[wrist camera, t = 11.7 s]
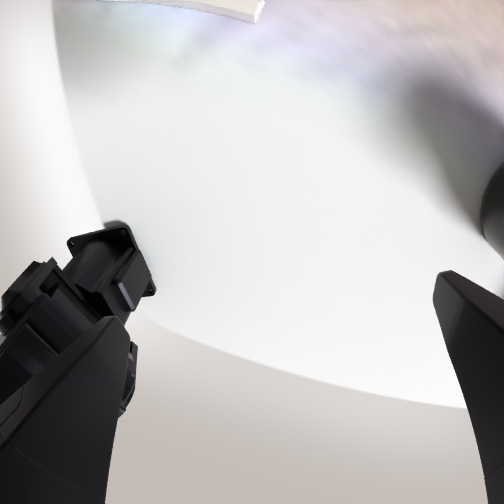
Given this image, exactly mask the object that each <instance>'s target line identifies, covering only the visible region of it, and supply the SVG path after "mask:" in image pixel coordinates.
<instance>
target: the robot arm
mask: <svg viewBox="0 0 504 504" xmlns="http://www.w3.org/2000/svg"><path fill="white" fill-rule="evenodd" d="M122 230H124V231H125V232H126V233H123V231H122ZM71 242H72V243H73V244H72V243H71ZM67 246H68V248H69V250H70V252H71V254H72V256H73V258H72V259H71V261H70V262H69V263H68V264H67V265H66V267H65V268H64V269H63V270H61V269H60V268H59V266H58V265H57V262H56V261H55V259H54V258H53V257H52V258H51V259H50V260H49V261H48V262H47V263H45V262H43V263H39V262H36V261H33V262H32V263H31V264H30V266H28V268H27V269H26V270H25V271H24V272H23V273H22V274H21V275H20V277H18V278H17V279H16V281H15V282H14V283H13V284H12V285H11V286H10V287H9V288H8V290H7V291H6V292H5V293H4V294H3V295H2V311H1V312H0V332H1V335H0V504H105V498H106V490H107V482H108V475H109V467H110V461H111V454H112V448H113V442H114V437H115V431H116V426H117V421H118V418H119V417H120V416H121V415H122V414H123V413H124V412H125V411H126V407H127V405H128V404H129V402H130V400H131V398H132V396H133V393H134V390H135V380H136V364H137V350H138V346H137V345H136V344H135V343H134V342H132V341H130V336H129V334H128V332H127V331H126V330H125V327H124V325H125V323H126V321H127V319H128V317H129V315H130V313H131V312H132V311H135V309H136V307H137V305H138V303H139V301H140V299H141V297H148V296H153V295H154V294H155V292H156V287H155V285H154V283H153V280H152V278H151V277H152V276H151V273H150V271H149V269H148V267H147V264H146V262H145V260H144V257H143V255H142V253H141V251H140V250H139V248H138V246H137V244H136V241H135V239H134V236H133V234H132V231H131V229H130V227H129V226H127V225H120V226H115V227H111V228H107V229H103V230H99V231H95V232H90V233H87V234H83V235H79V236H75V237H71V238H70V239H69V240H68V241H67ZM149 289H150V290H152V291H150V290H149ZM433 304H434V308H435V311H436V314H437V317H438V320H439V324H440V327H441V330H442V334H443V337H444V341H445V344H446V347H447V351H448V353H449V356H450V359H451V362H452V364H453V367H454V370H455V373H456V375H457V378H458V381H459V384H460V387H461V390H462V393H463V396H464V399H465V402H466V405H467V409H468V412H469V415H470V419H471V422H472V426H473V429H474V433H475V437H476V441H477V445H478V450H479V454H480V459H481V463H482V467H483V473H484V476H485V477H484V479H485V485H486V491H487V498H488V504H504V300H503V299H501V298H500V297H498V296H496V295H495V294H493V293H491V292H490V291H488V290H486V289H484V288H483V287H481V286H479V285H477V284H476V283H474V282H472V281H470V280H469V279H467V278H465V277H463V276H461V275H460V274H458V273H456V272H454V271H452V270H449V271H444V272H440V273H439V274H438V275H437V278H436V283H435V288H434V293H433Z"/></svg>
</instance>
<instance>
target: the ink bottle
mask: <svg viewBox="0 0 504 504" xmlns="http://www.w3.org/2000/svg"><path fill="white" fill-rule="evenodd" d="M482 228H483V232H484V235H485V238H486V240H487V241H488V243H489V244H490V246H491V247H492V248H493V249H494V250H495V251H496V252H497V253H498V254H499V255H500V256H501V257H502V258H503V259H504V166H503V167H502V168H501V169H500V170H499V172H498V173H497V174H496V176H495V177H494V179H493V180H492V182H491V184H490V186H489V188H488V190H487V193H486V195H485V198H484V202H483V206H482Z"/></svg>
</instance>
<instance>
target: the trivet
mask: <svg viewBox="0 0 504 504" xmlns="http://www.w3.org/2000/svg"><path fill="white" fill-rule="evenodd" d="M101 1H129V2H142V3H152V4H161V5H169V6H176V7H182V8H188V9H194V10H199V11H204V12H209V13H214V14H218V15H222V16H227V17H231V18H235V19H238V20H242V21H246V22H249V23H253V24H256V22H257V20H258V17H259V15H260V13H261V10H262V8H263V6H264V3H265V1H266V0H101Z"/></svg>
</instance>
